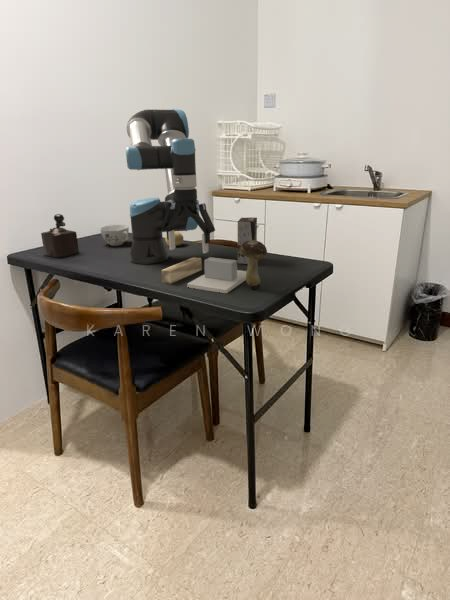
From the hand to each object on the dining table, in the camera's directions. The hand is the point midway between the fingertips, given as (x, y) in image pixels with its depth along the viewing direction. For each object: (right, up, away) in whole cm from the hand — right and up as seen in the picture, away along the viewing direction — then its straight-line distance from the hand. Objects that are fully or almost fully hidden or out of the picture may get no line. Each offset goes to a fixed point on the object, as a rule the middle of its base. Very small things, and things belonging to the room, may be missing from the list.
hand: (188, 250), depth 146 cm
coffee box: (+21, -2, +16) cm, 27 cm away
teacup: (-36, +8, +44) cm, 58 cm away
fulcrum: (+11, -11, -7) cm, 17 cm away
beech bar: (-2, -9, 0) cm, 9 cm away
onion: (-10, +7, +41) cm, 43 cm away
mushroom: (+22, -14, -14) cm, 29 cm away
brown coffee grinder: (-55, +1, +29) cm, 62 cm away
